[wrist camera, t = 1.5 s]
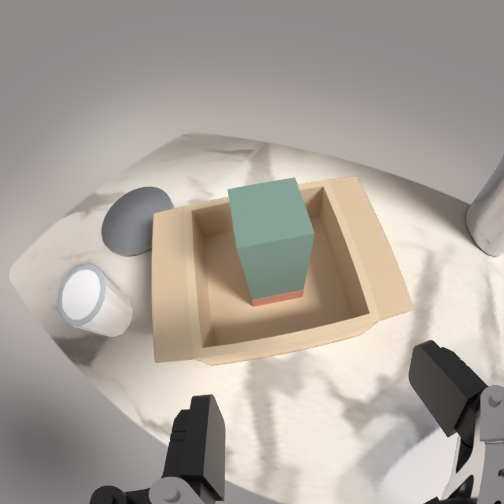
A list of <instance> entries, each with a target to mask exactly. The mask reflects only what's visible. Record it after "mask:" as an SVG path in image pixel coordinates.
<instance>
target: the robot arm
mask: <svg viewBox="0 0 504 504" xmlns="http://www.w3.org/2000/svg"><path fill="white" fill-rule="evenodd" d="M466 224H467V227H468V230H469V232H470V235H471V236H472V238H473V240H474V241H475V243H476V244H477V245H478V246H479V247H480V248H481V249H482V250H483V251H484V252H485V253H487V254H489V255H491V256H495V257H496V256H500V255H502V254H503V253H504V155H503V157H502V159H501V161H500V162H499V164H498V165H497V167H496V169H495V170H494V172H493V174H492V175H491V177H490V178H489V180H488V181H487V183H486V184H485V186H484V187H483V189H482V190H481V192H480V193H479V195H478V196H477V197H476V199H475V200H474V202H473V203H472V204H471V206H470V207H469V209H468V210H467V213H466ZM409 381H410V384H411V386H412V387H413V389H414V390H415V392H416V393H417V394H418V396H419V397H420V398H421V400H422V401H423V403H424V404H425V405H426V407H427V408H428V410H429V411H430V413H431V414H432V415H433V417H434V418H435V420H436V421H437V423H438V424H439V425H440V427H441V428H442V430H443V431H444V433H445V434H446V436H447V437H450V436H451V435H453V434H455V433H456V432H457V433H458V434H459V437H458V439H457V445H456V452H455V458H454V463H453V469H452V473H451V477H450V480H449V482H448V484H447V486H446V488H445V490H444V492H443V495H442V498H441V500H439V499H438V497H435V498H434V499H431V500H430V501H428V502H426V503H425V504H504V387H502V386H498V385H493V386H487V385H486V384H485V383H484V382H483V381H482V380H481V379H480V378H479V377H478V376H477V374H476V373H475V372H474V371H473V370H472V369H471V368H470V367H469V366H466V364H465V363H464V362H463V361H462V360H460V358H459V357H458V356H457V355H456V354H455V353H454V352H453V351H451V350H449V349H446V348H444V347H442V348H440V347H439V346H438V345H437V344H436V343H435V342H434V341H432V340H429V341H426V342H424V343H421V344H419V345H417V346H415V347H414V349H413V354H412V359H411V365H410V370H409ZM224 482H225V424H224V420H223V417H222V415H221V412H220V410H219V407H218V405H217V403H216V400H215V398H214V396H213V395H212V394H211V395H200V396H193V397H192V400H191V405H190V409H188V410H181V411H180V412H179V414H178V415H177V417H176V418H175V419H174V423H173V427H172V433H171V437H170V442H169V447H168V452H167V456H166V462H165V467H164V472H163V475H162V477H161V479H159V480H158V481H156V482H155V483H154V484H153V485H152V486H151V488H148V489H144V490H138V491H131V492H123V491H121V490H120V489H118V488H117V487H114V486H102V487H100V488H98V489H97V490H95V492H94V493H93V494H92V497H91V500H90V504H215V501H224Z"/></svg>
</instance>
